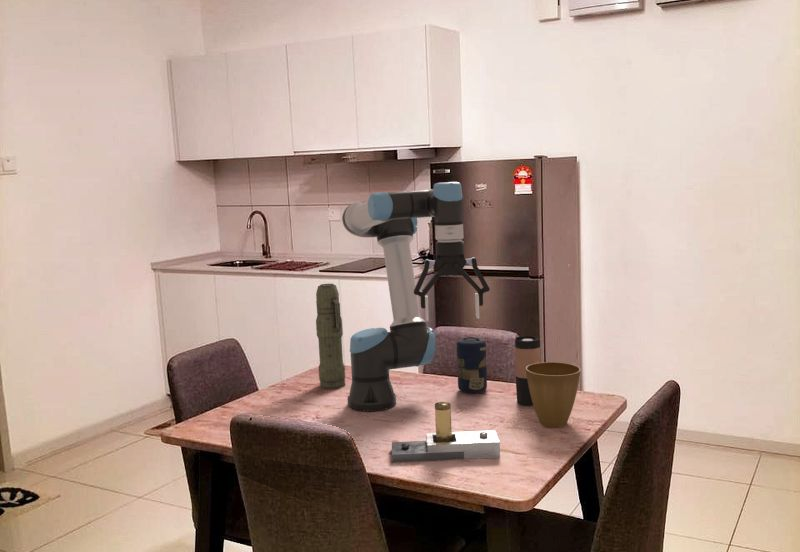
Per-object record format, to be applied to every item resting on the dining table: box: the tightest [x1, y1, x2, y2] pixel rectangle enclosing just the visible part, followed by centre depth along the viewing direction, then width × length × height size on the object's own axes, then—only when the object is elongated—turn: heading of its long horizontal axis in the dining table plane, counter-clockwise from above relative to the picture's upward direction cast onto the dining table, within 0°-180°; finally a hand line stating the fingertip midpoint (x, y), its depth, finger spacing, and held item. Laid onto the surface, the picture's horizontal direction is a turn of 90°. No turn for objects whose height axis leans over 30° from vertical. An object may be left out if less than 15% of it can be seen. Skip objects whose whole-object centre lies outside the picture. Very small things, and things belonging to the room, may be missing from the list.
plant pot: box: [526, 361, 582, 429], centre depth 219 cm, size 15×15×16 cm
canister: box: [456, 336, 488, 394], centre depth 254 cm, size 10×10×18 cm
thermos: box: [315, 283, 346, 390], centre depth 267 cm, size 9×12×35 cm
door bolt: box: [391, 429, 501, 463], centre depth 200 cm, size 9×27×5 cm, turn 91°
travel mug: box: [514, 335, 542, 407], centre depth 239 cm, size 8×8×20 cm
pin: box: [434, 401, 453, 443], centre depth 200 cm, size 4×4×13 cm
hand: (452, 319), depth 212 cm, fingers open, 13 cm apart
